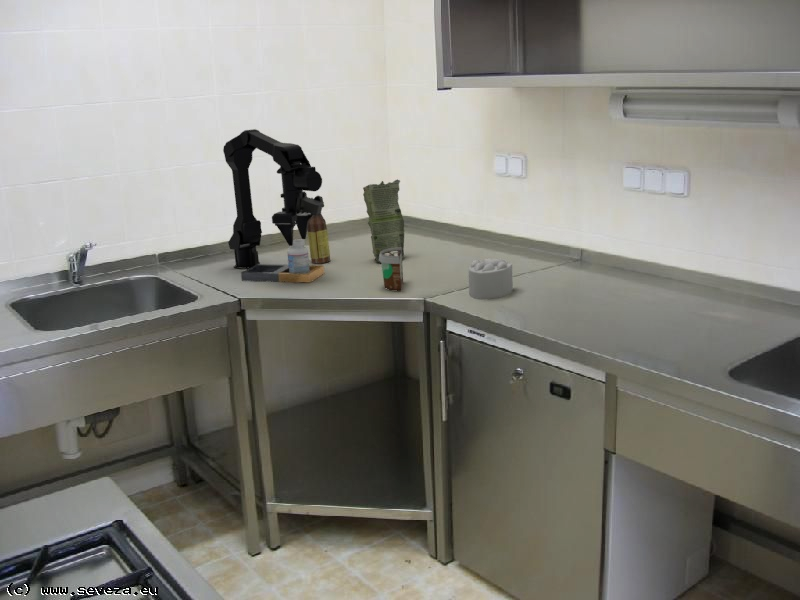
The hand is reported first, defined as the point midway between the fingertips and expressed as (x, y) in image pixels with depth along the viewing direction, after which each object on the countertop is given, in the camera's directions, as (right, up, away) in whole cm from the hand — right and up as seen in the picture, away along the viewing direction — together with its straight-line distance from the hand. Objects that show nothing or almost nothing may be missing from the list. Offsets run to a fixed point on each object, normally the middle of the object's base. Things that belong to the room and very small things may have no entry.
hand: (297, 242), depth 248 cm
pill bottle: (0, -10, +3) cm, 11 cm away
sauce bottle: (+5, -5, +22) cm, 23 cm away
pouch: (+26, -4, +20) cm, 33 cm away
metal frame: (-5, -10, +5) cm, 12 cm away
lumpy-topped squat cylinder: (+54, -15, -24) cm, 61 cm away
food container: (+28, -13, -13) cm, 33 cm away
